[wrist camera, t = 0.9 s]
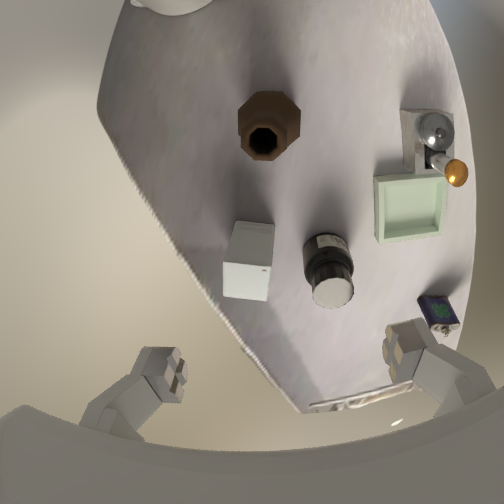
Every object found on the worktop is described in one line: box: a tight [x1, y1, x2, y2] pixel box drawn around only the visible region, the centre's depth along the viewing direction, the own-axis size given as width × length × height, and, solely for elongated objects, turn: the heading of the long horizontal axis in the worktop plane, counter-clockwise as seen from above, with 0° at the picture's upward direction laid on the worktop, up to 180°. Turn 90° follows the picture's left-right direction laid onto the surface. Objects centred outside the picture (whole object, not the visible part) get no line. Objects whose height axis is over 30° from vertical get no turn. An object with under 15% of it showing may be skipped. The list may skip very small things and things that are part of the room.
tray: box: [373, 173, 448, 244], centre depth 43 cm, size 12×14×3 cm
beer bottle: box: [238, 91, 301, 161], centre depth 29 cm, size 8×8×24 cm
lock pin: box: [424, 144, 468, 187], centre depth 33 cm, size 4×4×12 cm
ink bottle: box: [303, 233, 354, 309], centre depth 47 cm, size 10×9×12 cm
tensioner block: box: [399, 109, 454, 175], centre depth 34 cm, size 10×8×7 cm
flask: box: [417, 295, 460, 337], centre depth 52 cm, size 10×3×12 cm, turn 87°
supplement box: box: [223, 221, 275, 301], centre depth 47 cm, size 7×7×13 cm
